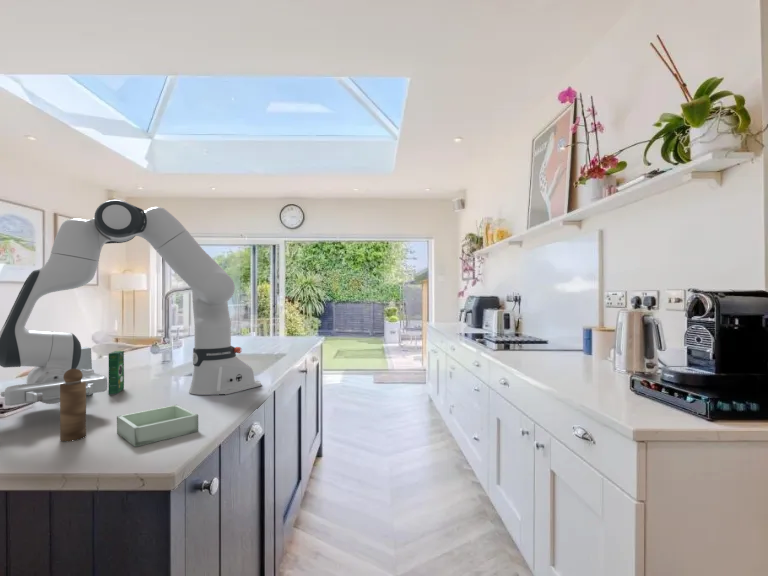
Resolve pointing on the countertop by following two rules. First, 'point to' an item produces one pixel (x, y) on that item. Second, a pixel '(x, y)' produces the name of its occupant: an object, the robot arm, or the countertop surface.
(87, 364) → the skincare box
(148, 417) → the bin
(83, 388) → the mill
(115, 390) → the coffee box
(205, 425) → the countertop surface
